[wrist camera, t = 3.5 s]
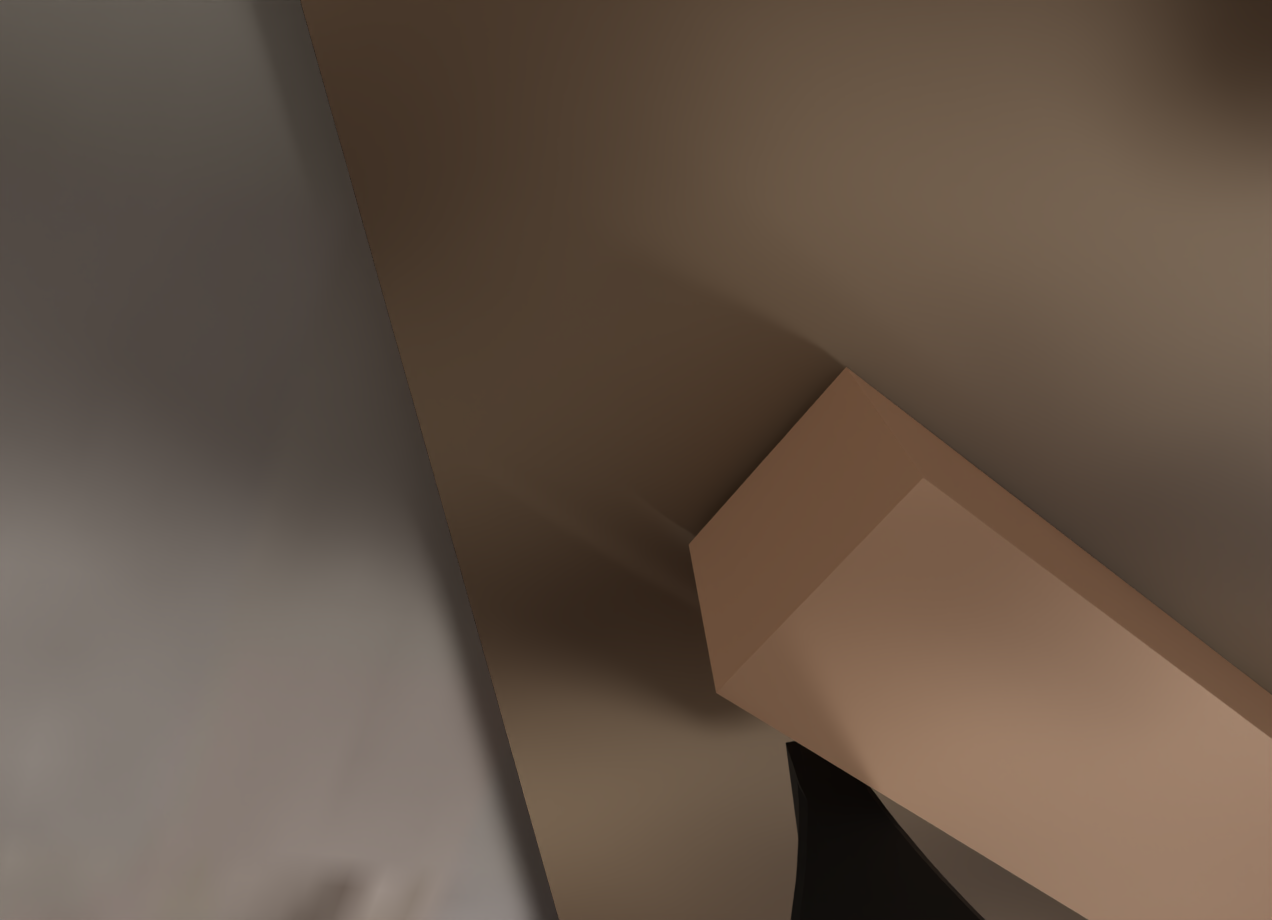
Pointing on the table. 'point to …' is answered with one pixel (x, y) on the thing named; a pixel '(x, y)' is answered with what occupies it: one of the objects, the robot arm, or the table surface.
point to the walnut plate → (801, 344)
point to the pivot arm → (986, 671)
